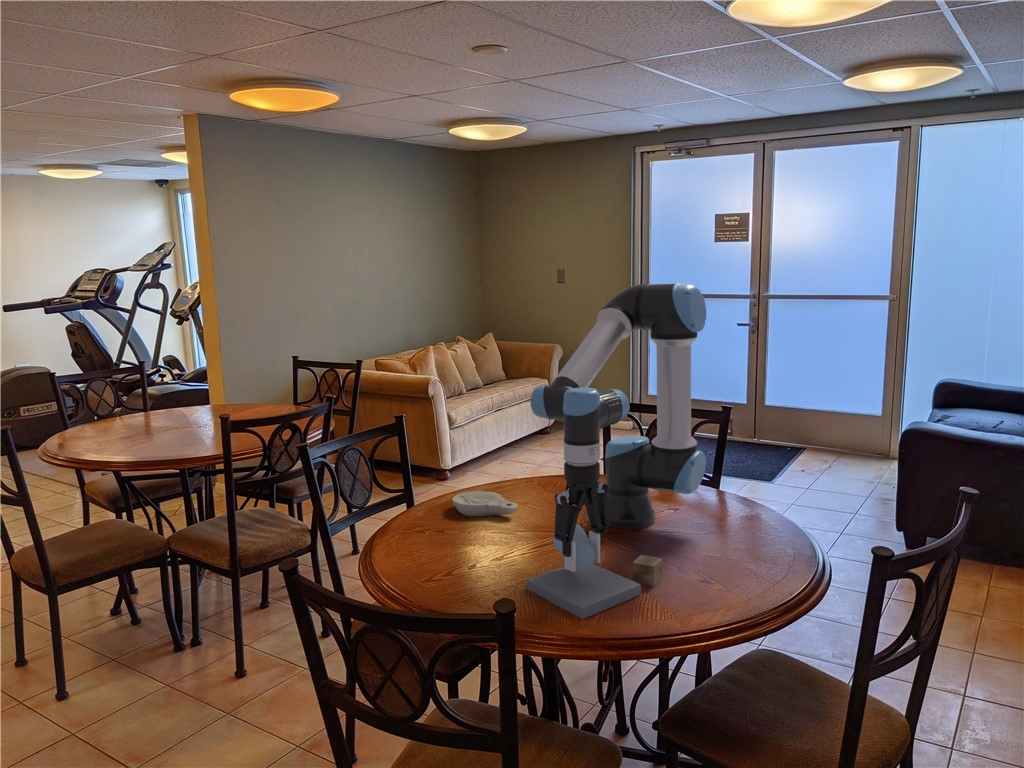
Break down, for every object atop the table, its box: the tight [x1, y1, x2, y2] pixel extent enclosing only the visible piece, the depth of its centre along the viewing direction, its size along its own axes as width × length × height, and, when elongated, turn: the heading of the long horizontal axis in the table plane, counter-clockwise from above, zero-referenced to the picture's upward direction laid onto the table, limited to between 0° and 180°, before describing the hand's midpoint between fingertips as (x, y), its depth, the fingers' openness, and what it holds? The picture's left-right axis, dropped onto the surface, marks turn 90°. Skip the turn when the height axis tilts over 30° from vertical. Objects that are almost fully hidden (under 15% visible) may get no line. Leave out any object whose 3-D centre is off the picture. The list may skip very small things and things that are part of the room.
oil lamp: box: [451, 490, 519, 517], centre depth 211 cm, size 21×14×5 cm
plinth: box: [525, 563, 642, 620], centre depth 160 cm, size 18×17×2 cm
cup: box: [552, 523, 596, 569], centre depth 163 cm, size 8×8×10 cm
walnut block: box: [632, 554, 663, 588], centre depth 165 cm, size 5×5×5 cm
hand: (582, 565), depth 159 cm, fingers closed on cup, 6 cm apart
